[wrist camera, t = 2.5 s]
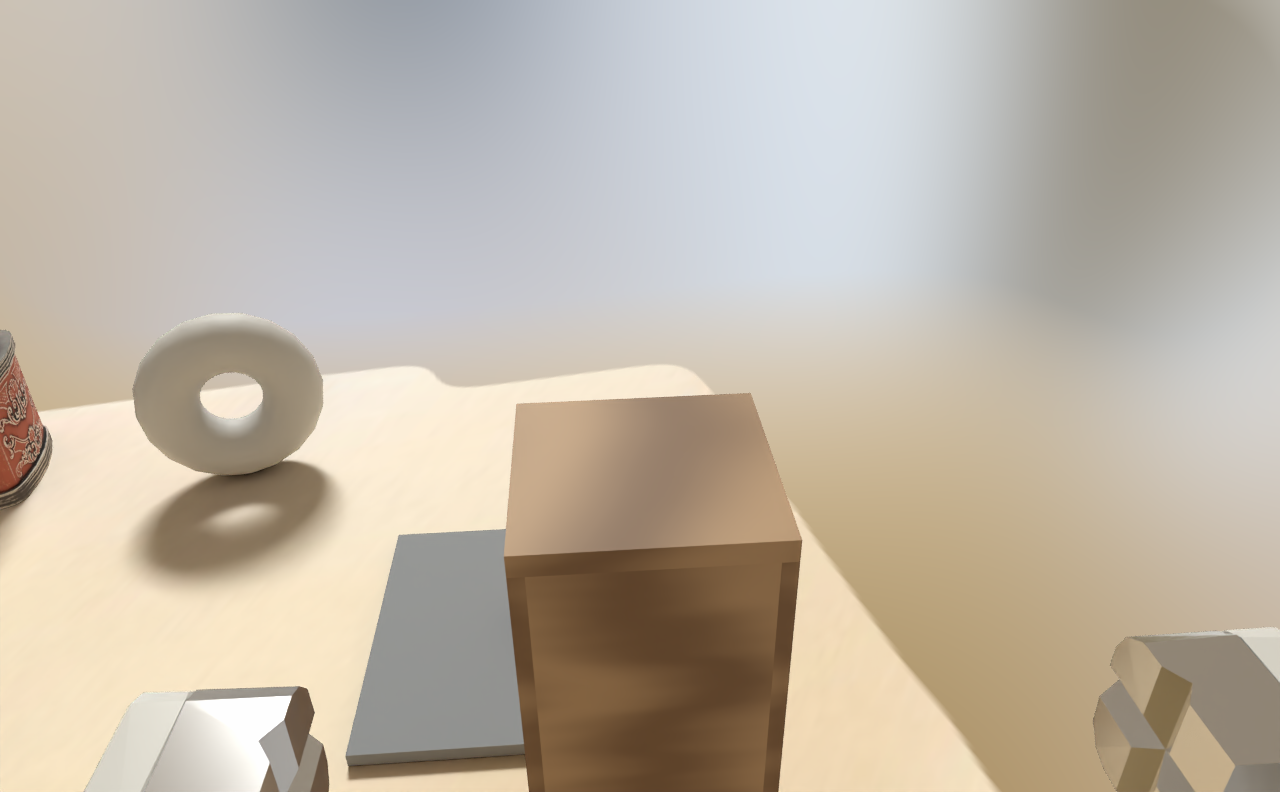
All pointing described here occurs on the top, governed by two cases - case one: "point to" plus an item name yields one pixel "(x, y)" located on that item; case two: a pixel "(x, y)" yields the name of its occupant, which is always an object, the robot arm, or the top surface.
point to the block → (650, 595)
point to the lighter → (19, 431)
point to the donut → (215, 349)
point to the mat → (441, 656)
